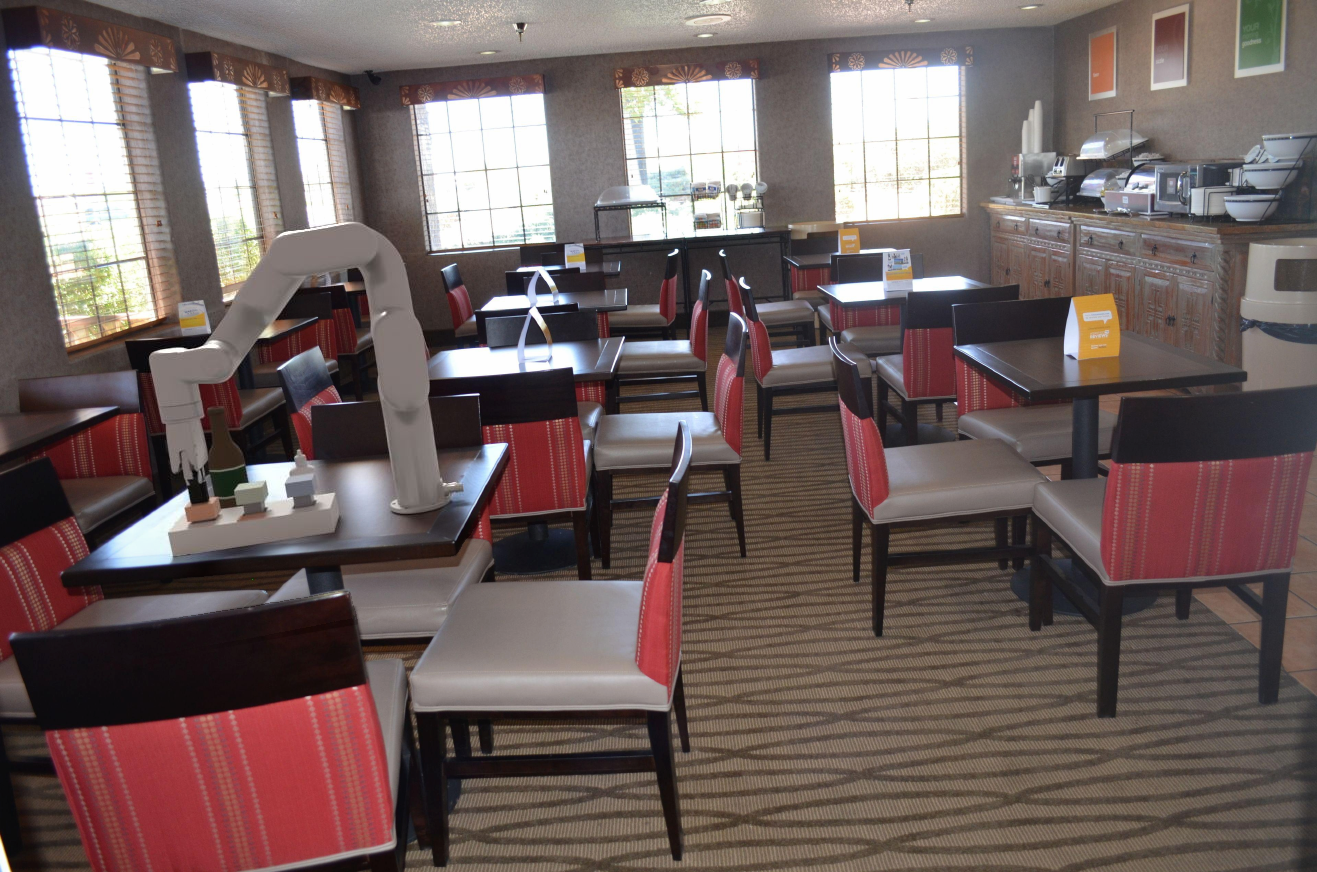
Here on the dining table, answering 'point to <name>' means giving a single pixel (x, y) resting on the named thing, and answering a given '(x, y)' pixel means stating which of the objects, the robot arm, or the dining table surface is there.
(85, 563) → the dining table surface
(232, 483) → the beer bottle
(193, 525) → the console
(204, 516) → the terracotta button
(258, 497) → the sage button
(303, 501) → the slate button
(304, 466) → the eye dropper bottle
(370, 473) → the dining table surface
